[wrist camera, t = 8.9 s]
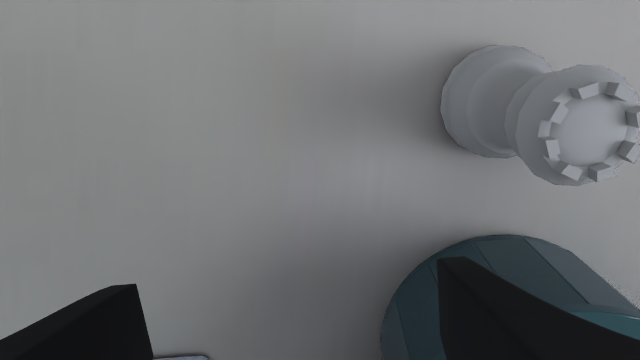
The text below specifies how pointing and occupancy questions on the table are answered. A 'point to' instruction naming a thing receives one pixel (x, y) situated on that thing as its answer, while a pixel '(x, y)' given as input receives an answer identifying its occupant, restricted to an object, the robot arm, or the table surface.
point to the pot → (503, 260)
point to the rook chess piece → (542, 114)
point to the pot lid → (600, 319)
